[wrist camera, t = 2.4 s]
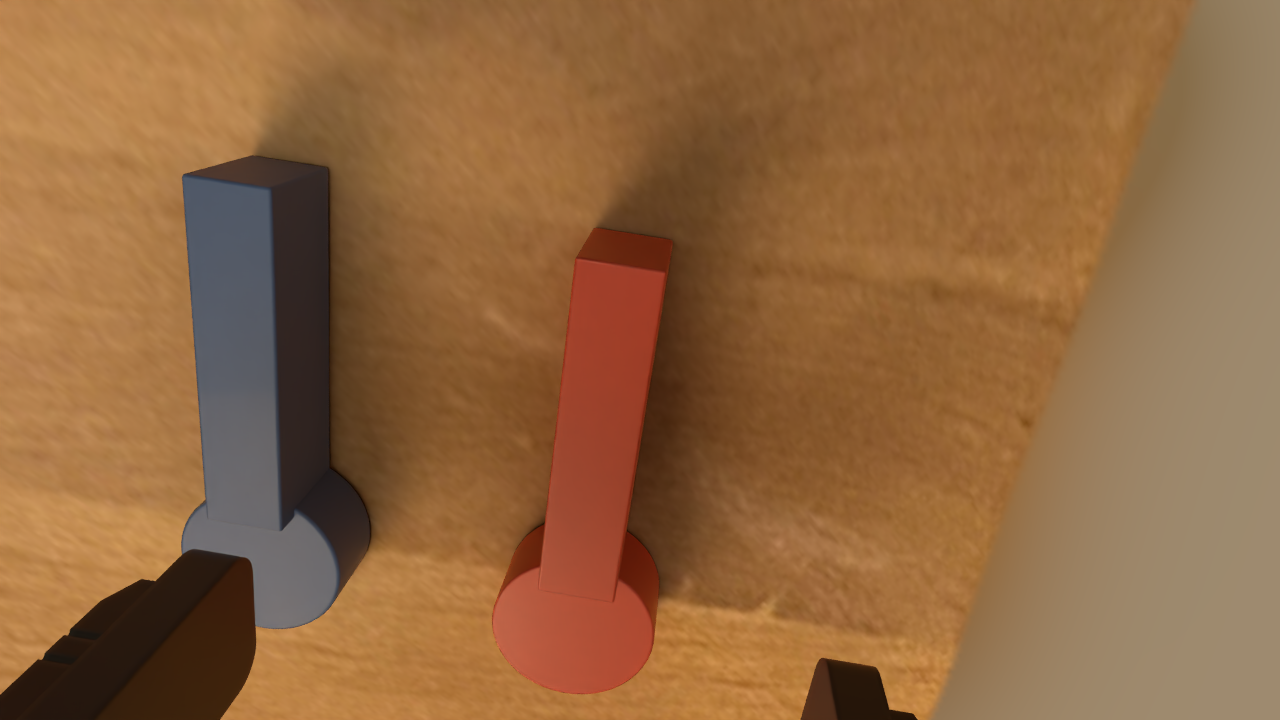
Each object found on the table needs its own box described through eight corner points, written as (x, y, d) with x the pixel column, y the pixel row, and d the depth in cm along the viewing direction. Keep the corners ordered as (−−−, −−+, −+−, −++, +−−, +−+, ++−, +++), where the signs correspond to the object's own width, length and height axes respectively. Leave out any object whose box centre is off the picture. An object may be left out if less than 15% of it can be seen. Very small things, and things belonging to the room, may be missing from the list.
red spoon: (544, 218, 18) (518, 247, 16) (722, 247, 18) (723, 280, 16) (504, 626, 23) (479, 698, 20) (647, 651, 23) (639, 726, 20)
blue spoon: (202, 147, 18) (125, 164, 16) (377, 175, 18) (326, 196, 16) (228, 567, 23) (170, 631, 20) (370, 592, 23) (329, 659, 20)
